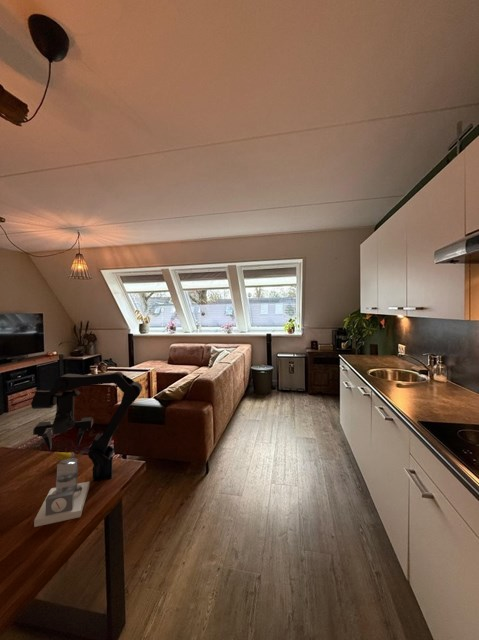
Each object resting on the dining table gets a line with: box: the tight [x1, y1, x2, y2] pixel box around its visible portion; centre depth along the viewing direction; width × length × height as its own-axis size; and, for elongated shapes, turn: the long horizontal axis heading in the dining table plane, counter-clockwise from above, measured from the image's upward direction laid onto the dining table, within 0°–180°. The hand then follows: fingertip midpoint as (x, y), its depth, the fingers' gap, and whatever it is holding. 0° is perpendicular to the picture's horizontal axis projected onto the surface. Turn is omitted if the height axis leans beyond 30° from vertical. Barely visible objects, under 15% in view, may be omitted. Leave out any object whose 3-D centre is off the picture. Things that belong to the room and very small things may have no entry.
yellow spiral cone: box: [54, 451, 75, 462], centre depth 111 cm, size 5×5×10 cm
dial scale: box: [33, 481, 91, 528], centre depth 87 cm, size 12×16×7 cm
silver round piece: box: [55, 476, 78, 494], centre depth 89 cm, size 6×6×5 cm
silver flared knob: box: [56, 457, 79, 483], centre depth 90 cm, size 6×6×5 cm
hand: (64, 447), depth 101 cm, fingers open, 9 cm apart
